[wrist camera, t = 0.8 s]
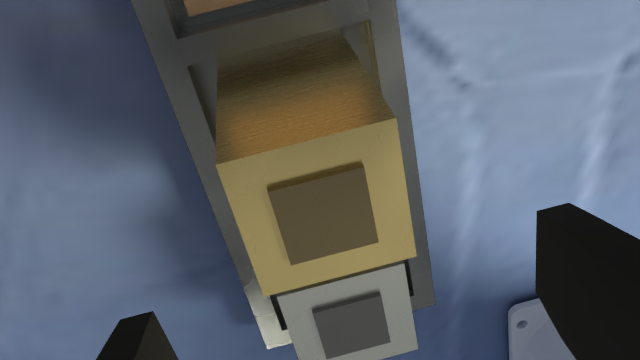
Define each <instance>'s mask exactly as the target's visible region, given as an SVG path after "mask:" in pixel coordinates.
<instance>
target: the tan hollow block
mask: <svg viewBox="0 0 640 360" xmlns="http://www.w3.org/2000/svg"><path fill="white" fill-rule="evenodd" d="M215 165H216V168H217V171H218V173H219V176H220V179H221V182H222V184H223V187H224V190H225V192H226V195H227V198H228V201H229V203H230V206H231V209H232V211H233V214H234V217H235V220H236V222H237V225H238V228H239V230H240V233H241V236H242V239H243V241H244V244H245V247H246V249H247V252H248V255H249V258H250V260H251V263H252V266H253V268H254V271H255V274H256V277H257V279H258V282H259V285H260V287H261V290H262V293H263V296H264V297H265V296H269V295H273V294H277V293H280V292H284V291H288V290H292V289H296V288H299V287H303V286H307V285H311V284H314V283H318V282H322V281H326V280H329V279H333V278H337V277H341V276H345V275H348V274H352V273H356V272H360V271H363V270H367V269H371V268H375V267H378V266H382V265H386V264H390V263H394V262H397V261H401V260H405V259H409V258H412V257H416V256H417V255H416V248H415V241H414V234H413V227H412V221H411V214H410V207H409V200H408V193H407V187H406V180H405V173H404V166H403V159H402V153H401V146H400V139H399V132H398V125H397V119H396V116H395V115H394V113H393V112H392V110H391V109H390V107H389V105H388V104H387V102H386V101H385V99H384V98H383V96H382V94H381V93H380V91H379V90H378V88H377V87H376V85H375V83H374V82H373V80H372V79H371V77H370V76H369V74H368V72H367V71H366V69H365V68H364V66H363V65H362V63H361V61H360V60H359V58H358V57H357V55H356V54H355V52H354V50H353V49H352V47H351V46H350V44H349V42H348V41H347V39H346V38H345V36H344V35H343V36H339V37H335V38H331V39H328V40H324V41H320V42H316V43H312V44H308V45H304V46H300V47H296V48H293V49H289V50H285V51H281V52H277V53H273V54H269V55H265V56H261V57H257V58H254V59H250V60H246V61H242V62H238V63H234V64H230V65H226V66H222V67H219V68H217V106H216V157H215Z"/></svg>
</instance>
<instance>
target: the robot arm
mask: <svg viewBox="0 0 640 360" xmlns="http://www.w3.org/2000/svg"><path fill="white" fill-rule="evenodd" d="M536 293H537V295H538V297H539V298H537V299H534V300H530V301H526V302H523V303H519V304H516V305H514V306H513V307H511V309H510V310H509V312H508V334H509V360H640V240H639V239H638V238H636V237H634V236H632V235H630V234H628V233H626V232H624V231H622V230H620V229H619V228H617V227H615V226H613V225H611V224H609V223H607V222H605V221H603V220H602V219H600V218H598V217H596V216H594V215H592V214H590V213H588V212H586V211H584V210H582V209H580V208H578V207H576V206H574V205H572V204H570V203H566V204H562V205H559V206H555V207H551V208H547V209H543V210H539V211H537V232H536ZM96 360H178V358H177V356H176V354H175V352H174V350H173V348H172V346H171V344H170V343H169V341H168V339H167V337H166V335H165V333H164V331H163V329H162V327H161V325H160V324H159V322H158V320H157V318H156V316H155V314H154V312H153V311H152V312H148V313H144V314H140V315H136V316H133V317H129V318H125V319H121V320H120V321H119V323H118V324H117V326H116V327H115V329H114V331H113V332H112V334H111V335H110V337H109V339H108V340H107V342H106V344H105V345H104V347H103V349H102V350H101V352H100V354H99V356H98V357H97V359H96Z"/></svg>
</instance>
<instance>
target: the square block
mask: <svg viewBox="0 0 640 360" xmlns="http://www.w3.org/2000/svg"><path fill="white" fill-rule="evenodd" d="M276 295H277V299H278V302H279V305H280V308H281V311H282V314H283V316H284V319H285V322H286V325H287V328H288V331H289V334H290V336H291V339H292V342H293V345H294V348H295V351H296V354H297V356H298V359H299V360H380V359H384V358H388V357H391V356H395V355H399V354H403V353H406V352H410V351H414V350H418V344H417V338H416V332H415V326H414V320H413V313H412V307H411V301H410V295H409V289H408V283H407V277H406V271H405V265H404V262H403V260H401V261H397V262H394V263H390V264H386V265H382V266H378V267H375V268H371V269H367V270H363V271H360V272H356V273H352V274H348V275H345V276H341V277H337V278H333V279H329V280H326V281H322V282H318V283H314V284H311V285H307V286H303V287H299V288H296V289H292V290H288V291H284V292H280V293H277V294H276Z"/></svg>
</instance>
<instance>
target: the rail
mask: <svg viewBox="0 0 640 360" xmlns="http://www.w3.org/2000/svg"><path fill="white" fill-rule="evenodd" d="M131 3H132V5H133V8H134V11H135V13H136V16H137V18H138V21H139V23H140V26H141V28H142V31H143V34H144V36H145V39H146V41H147V44H148V46H149V49H150V51H151V54H152V56H153V59H154V62H155V64H156V67H157V69H158V72H159V74H160V77H161V79H162V82H163V85H164V87H165V90H166V92H167V95H168V97H169V100H170V102H171V105H172V107H173V110H174V113H175V115H176V118H177V120H178V123H179V125H180V128H181V130H182V133H183V135H184V138H185V141H186V143H187V146H188V148H189V151H190V153H191V156H192V158H193V161H194V164H195V166H196V169H197V171H198V174H199V176H200V179H201V181H202V184H203V186H204V189H205V192H206V194H207V197H208V199H209V202H210V204H211V207H212V209H213V212H214V215H215V217H216V220H217V222H218V225H219V227H220V230H221V232H222V235H223V237H224V240H225V243H226V245H227V248H228V250H229V253H230V255H231V258H232V260H233V263H234V265H235V268H236V271H237V273H238V276H239V278H240V281H241V283H242V286H243V288H244V291H245V294H246V296H247V299H248V301H249V304H250V306H251V309H252V311H253V314H254V316H255V319H256V322H257V324H258V327H259V329H260V332H261V334H262V337H263V339H264V342H265V345H266V347H267V349H271V348H274V347H278V346H282V345H286V344H289V343H293V342H292V339H291V336H290V334H289V331H288V328H287V325H286V322H285V319H284V316H283V314H282V311H281V308H280V305H279V302H278V299H277V295H276V294H273V295H269V296H265V297H264V296H263V293H262V290H261V287H260V285H259V282H258V279H257V277H256V274H255V271H254V268H253V266H252V263H251V260H250V258H249V255H248V252H247V249H246V247H245V244H244V241H243V239H242V236H241V233H240V230H239V228H238V225H237V222H236V220H235V217H234V214H233V211H232V209H231V206H230V203H229V201H228V198H227V195H226V192H225V190H224V187H223V184H222V182H221V179H220V176H219V173H218V171H217V168H216V165H215V157H216V106H217V68H219V67H222V66H226V65H230V64H234V63H238V62H242V61H246V60H250V59H254V58H257V57H261V56H265V55H269V54H273V53H277V52H281V51H285V50H289V49H293V48H296V47H300V46H304V45H308V44H312V43H316V42H320V41H324V40H328V39H331V38H335V37H339V36H343V35H344V36H345V38H346V39H347V41H348V42H349V44H350V46H351V47H352V49H353V50H354V52H355V54H356V55H357V57H358V58H359V60H360V61H361V63H362V65H363V66H364V68H365V69H366V71H367V72H368V74H369V76H370V77H371V79H372V80H373V82H374V83H375V85H376V87H377V88H378V90H379V91H380V93H381V94H382V96H383V98H384V99H385V101H386V102H387V104H388V105H389V107H390V109H391V110H392V112H393V113H394V115H395V116H396V119H397V125H398V132H399V139H400V146H401V153H402V159H403V166H404V173H405V180H406V187H407V193H408V200H409V207H410V214H411V221H412V227H413V234H414V241H415V248H416V255H417V256H416V257H412V258H409V259H405V260H403V262H404V265H405V271H406V277H407V283H408V289H409V295H410V301H411V307H412V311H413V310H417V309H421V308H424V307H428V306H432V305H436V304H435V296H434V289H433V281H432V274H431V266H430V258H429V251H428V243H427V235H426V228H425V220H424V212H423V205H422V197H421V189H420V182H419V174H418V166H417V159H416V151H415V143H414V136H413V128H412V120H411V113H410V105H409V97H408V90H407V82H406V74H405V67H404V59H403V51H402V44H401V36H400V28H399V21H398V13H397V5H396V0H131Z"/></svg>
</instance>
